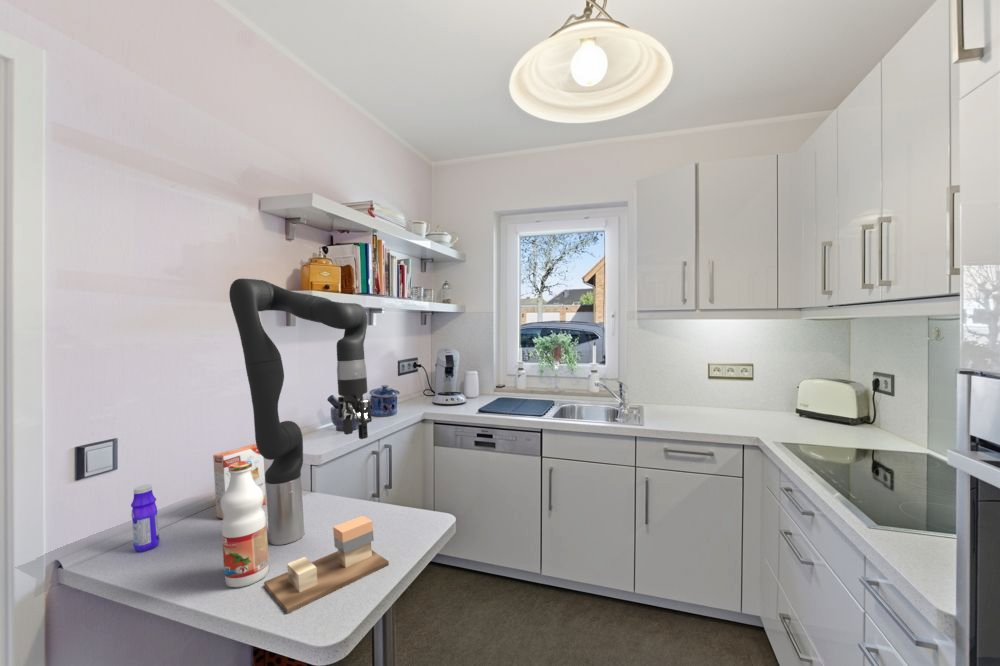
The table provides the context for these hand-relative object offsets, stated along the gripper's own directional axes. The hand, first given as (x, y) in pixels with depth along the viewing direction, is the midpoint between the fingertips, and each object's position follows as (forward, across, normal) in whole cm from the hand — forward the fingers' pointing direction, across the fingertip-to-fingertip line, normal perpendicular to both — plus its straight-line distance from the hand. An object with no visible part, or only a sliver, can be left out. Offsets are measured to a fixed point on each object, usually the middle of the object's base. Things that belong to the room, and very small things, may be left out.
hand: (355, 436), depth 119 cm
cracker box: (+30, +55, +15) cm, 65 cm away
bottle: (+30, +49, +41) cm, 71 cm away
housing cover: (+23, -7, +6) cm, 24 cm away
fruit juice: (+30, +8, +26) cm, 41 cm away
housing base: (+25, -7, +6) cm, 27 cm away
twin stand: (+30, -7, +12) cm, 33 cm away
